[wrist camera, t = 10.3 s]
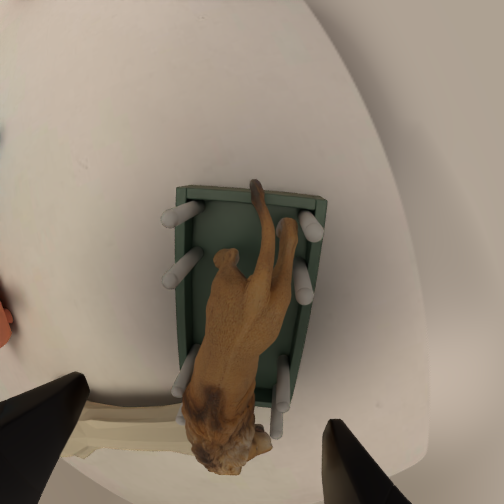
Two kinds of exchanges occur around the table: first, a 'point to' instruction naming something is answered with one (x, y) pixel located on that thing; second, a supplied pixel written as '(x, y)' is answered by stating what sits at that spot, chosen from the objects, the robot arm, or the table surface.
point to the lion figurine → (238, 348)
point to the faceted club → (127, 430)
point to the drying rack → (248, 244)
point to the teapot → (5, 325)
